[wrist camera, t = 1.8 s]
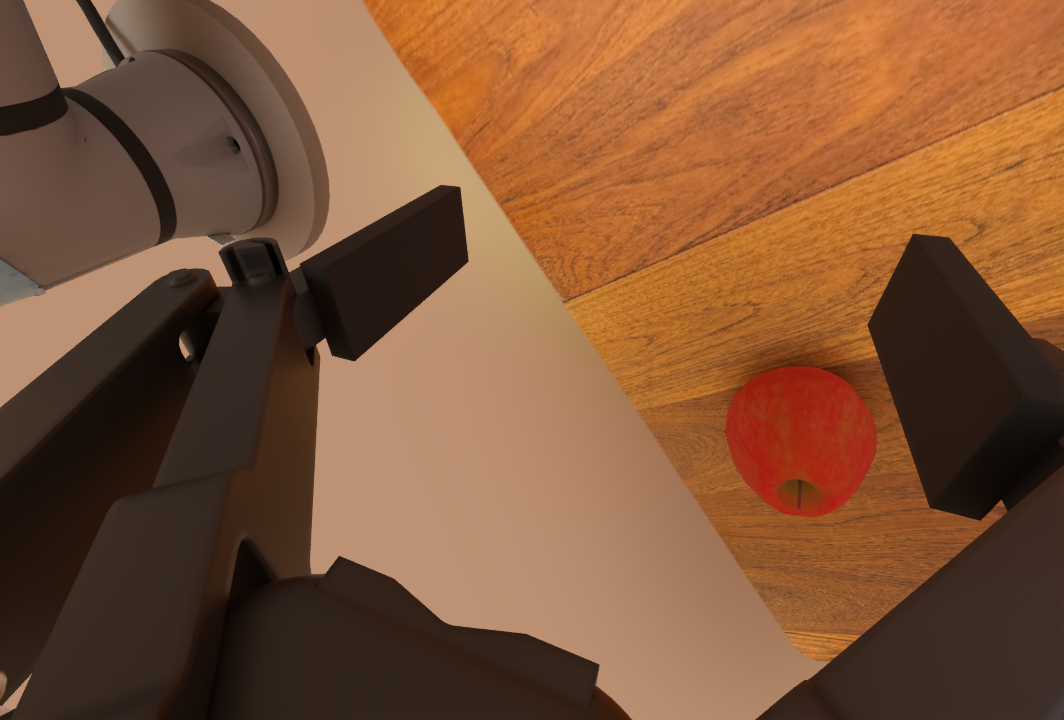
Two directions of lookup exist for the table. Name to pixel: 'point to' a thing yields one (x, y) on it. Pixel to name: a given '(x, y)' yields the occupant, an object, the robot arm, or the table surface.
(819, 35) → the table surface
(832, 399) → the apple
